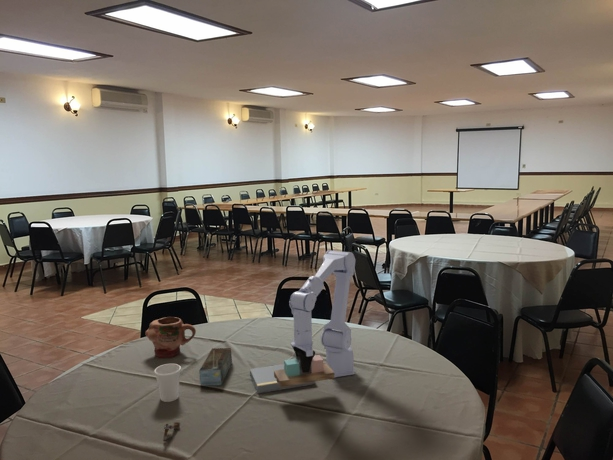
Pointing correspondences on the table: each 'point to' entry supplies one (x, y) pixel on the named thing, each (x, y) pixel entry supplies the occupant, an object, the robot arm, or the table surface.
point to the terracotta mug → (168, 336)
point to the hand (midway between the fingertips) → (303, 369)
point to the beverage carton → (215, 366)
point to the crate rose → (317, 364)
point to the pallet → (303, 376)
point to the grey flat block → (269, 379)
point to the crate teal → (291, 367)
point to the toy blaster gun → (167, 427)
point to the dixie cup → (168, 381)
